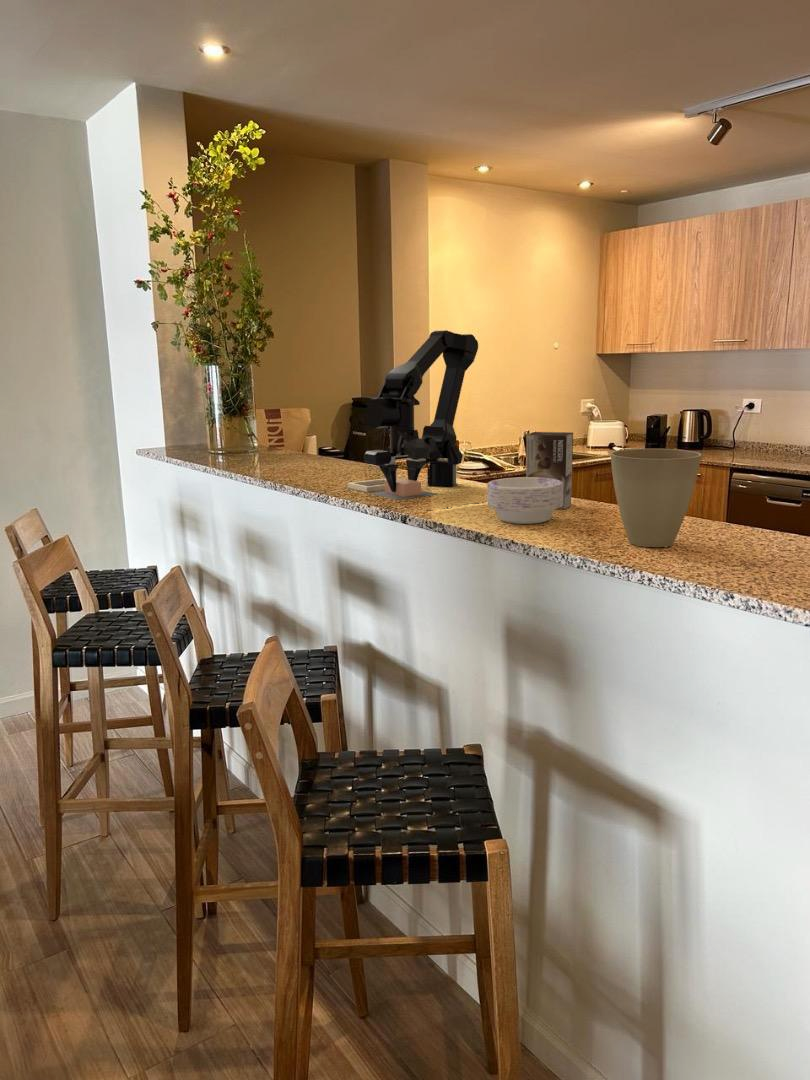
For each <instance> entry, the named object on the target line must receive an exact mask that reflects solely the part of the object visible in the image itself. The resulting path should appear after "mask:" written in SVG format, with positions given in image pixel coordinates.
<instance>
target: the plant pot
mask: <svg viewBox="0 0 810 1080" xmlns="http://www.w3.org/2000/svg"><path fill="white" fill-rule="evenodd" d="M609 456H610V464H611V473H612V480H613V487H614V492H615V497H616V502H617V506H618V510H619V511H618V512H619V514H620V517H621V518H620V519H621V521H622V525H623V529H624V531H625V535H626V537H627V540H628V543H629V542H630V543H631V545H632V544H634V545H633V546H635V545H637V546H636V547H639V546H644V547H643V548H646V547H664V548H667V547H666V546H669V547H671V546H673V545H674V543H675V540H676V538H677V536H678V534H679V532H680V529H681V527H682V525H683V522H684V520H685V516H686V514H687V512H688V508H689V505H690V502H691V500H692V496H693V492H694V490H695V487H696V481H697V478H698V473H699V469H700V464H701V459H702V453H700V452H697V451H692V450H687V449H686V450H685V449H675V448H674V449H673V448H631V449H630V448H628V449H618V450H614V451H612V452H610V455H609ZM630 543H629V544H630ZM672 544H673V545H672Z"/></svg>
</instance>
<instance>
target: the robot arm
mask: <svg viewBox="0 0 810 1080" xmlns="http://www.w3.org/2000/svg"><path fill="white" fill-rule="evenodd" d="M478 350H479V342H478V340H477V339H476V336H474V335H473V334H471V333H469V334H465V333H464V334H461V333H457V332H456V333H455V332H452V331H450V330H434V331H432V332H430V334H429V336H428V338H427V339H426V340H425V341H424V342H423V344H422V345H421V346H420V347H419V348H418V349H417V350H416V351H415V352H414V354H413V355H412V356H411V357H410V358H409V359H408V361H406V362H404V363H403V364H401V365H400V364H399V365H398V366H395V367H394V368H393V369H392V370H390V371H389V372H387V374H386V375H385V377H384V381H383V384H382V386H381V388H380V390H379V393H378V395H377V397H371V398H370V403H369V404H368V405H367V406H366V408H365V410H364V413H363V419H364V422H365V425H367V427H369V428H371V429H374V430H375V429H382V428H384V429H385V428H389V429H386V434H387V435H389V436H390V438H389V441H390V442H389V444H390V446H387V447H386V450H381V449H376V450H375V449H374V450H373V449H372V450H366V451H365V453H364V455H363V463H364V464H368V465H369V464H371V465H375V466H378V468H379V469H380V471H381V472H382V473H383V476H384V479H386V480H387V482H388V484H389V486H390V489H391V491H392V492H396V479H397V470H398V467H399V465H400V464H398V463H396V461H397V460H405V462H406V463H405V464H406V473H407V479H408V480H414V481H418V478H419V476H420V473H421V471H422V468H423V467H424V466H425V465H427V464H428V465H429V467H428V468H427V470H426V471H427V478H426V479H427V480H426V481H427V487H431V488H432V487H433V488H454V487H455V486H457V485H458V483H457V465H460V464H462V461H463V458H464V457H463V453H462V452H461V450H460V449H459V447H458V446H457V433H456V430H455V428H454V424H455V423H454V422H455V418H456V414H457V409H458V404H459V401H460V396H461V392H462V387H463V383H464V378H465V374H466V371H467V370H468V369H470V368H469V367H471V365H472V364H473V363H474V362H475V359H476V357H477V353H478ZM440 356H442V358H443V361H444V362H443V363H444V365H445V370H444V375H443V379H442V384H441V387H440V393H439V397H438V401H437V405H436V409H435V410H436V411H435V415H434V419H433V421H432V422H431V424H430V425H424V427H423V429H422V435H421V438H420V437H419V431H418V429H415V406H420V401H419V399H417V398H416V397H415V395H416V394H417V393H418V392H419V389H420V388H421V386H422V385H423V377H424V375H425V373H426V372H427V371H428V370H429V369H430V368H431V367H432V365H433V364H434V363H435V362H436V361H437V360H438V359H439V357H440Z"/></svg>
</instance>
